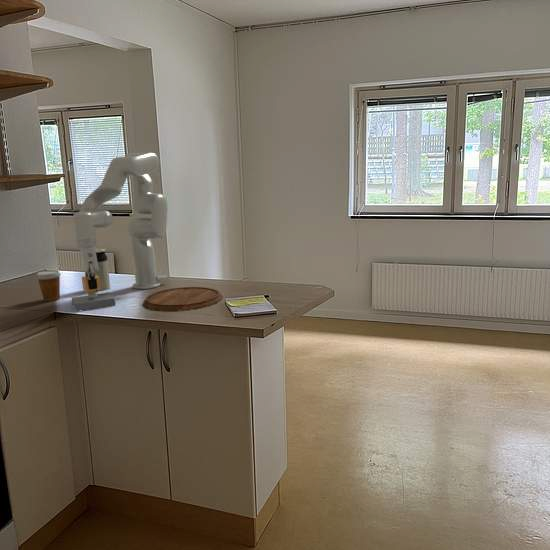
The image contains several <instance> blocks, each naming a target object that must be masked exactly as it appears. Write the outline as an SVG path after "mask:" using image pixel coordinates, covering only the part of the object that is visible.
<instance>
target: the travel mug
mask: <svg viewBox="0 0 550 550" xmlns="http://www.w3.org/2000/svg"><path fill="white" fill-rule="evenodd" d="M95 251H96V256H97V263H98V272H97V271H96V270H95V275H98V276H99V277H100V286H101V291H106V289H107V290H108V289H110V288H111V284H110V282H111V281H110V272H109V263H108V256H107V255H106V249H105V248H95ZM90 272H91V271H90Z"/></svg>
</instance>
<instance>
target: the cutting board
mask: <svg viewBox="0 0 550 550" xmlns="http://www.w3.org/2000/svg"><path fill="white" fill-rule="evenodd" d="M222 300H223V295H222V294H221V293H220V291H219V290H217V289H215V288H213V287H206V286H204V287H203V286H183V287H174V288H168V289H163V290H159V291H155V292H152V293H151V294H149V295H147V296H146V297H145V299H144V301H143V307H144V306H145V307H144V308H146V307H147V308H146V309H148V308H150V309H149V310H151V309H154V310H153V311H157V310H163V311H162V312H179V311H178V310H186V311H191V310H190V309H194V310H199V309H198V308H200V309H204V308H203V307H205V308H208V307H212V306H214V305H216V304H219V303H220V302H221V301H222ZM218 302H219V303H218ZM207 306H208V307H207Z"/></svg>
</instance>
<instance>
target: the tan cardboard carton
mask: <svg viewBox="0 0 550 550" xmlns="http://www.w3.org/2000/svg"><path fill="white" fill-rule="evenodd" d="M88 280H89V279H88V276H81V282H82V283H81V285H82V289H83V291H84V292H85V293H87V292H88V293H89V291H95V290H101V286H100V277H99V276H98V275H96V280H97V289H91V290H89V286H88ZM101 291H102V290H101Z"/></svg>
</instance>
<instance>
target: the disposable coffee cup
mask: <svg viewBox="0 0 550 550" xmlns="http://www.w3.org/2000/svg"><path fill="white" fill-rule="evenodd" d="M61 274H62V273H60V270H58V269H57V270H54V269H53V270H44V271H39V272H37V274H36V278H37V280H38V284H39V287H40V291H41V294H42V295H41V296H42V299H43V301H44V302H47V301H49V302H56V301H58V300H60V299H61V298H60V295H61V294H60V293H61V292H60V288H61V287H60V286H61V285H60V282H61V281H60V280H61Z"/></svg>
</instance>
